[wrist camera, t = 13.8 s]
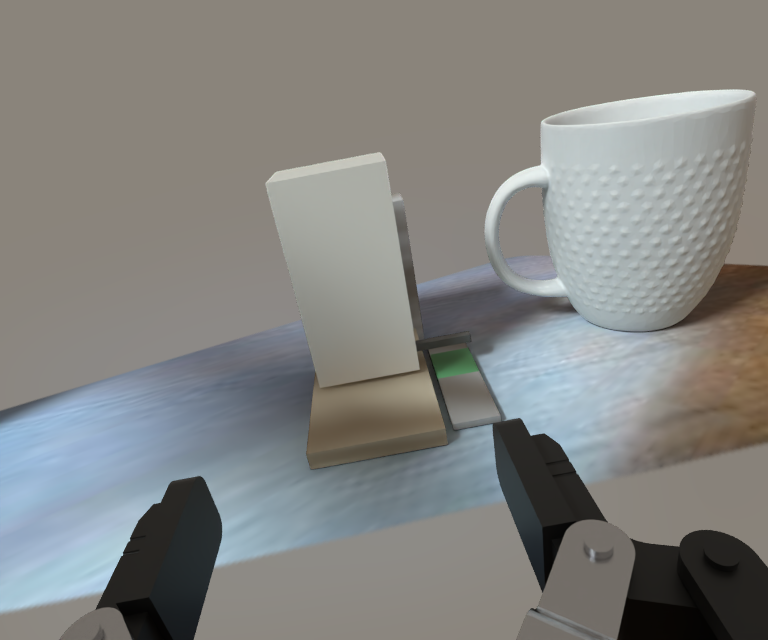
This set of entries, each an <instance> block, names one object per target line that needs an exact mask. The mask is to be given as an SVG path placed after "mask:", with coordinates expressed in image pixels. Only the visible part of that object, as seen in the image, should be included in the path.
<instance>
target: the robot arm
mask: <svg viewBox="0 0 768 640" xmlns="http://www.w3.org/2000/svg"><path fill="white" fill-rule="evenodd" d="M493 437H494V448H495V458H496V468H497V474H498V478H499V482H500V486H501V489H502V491H503V494H504V496H505V499H506V501H507V504H508V507H509V509H510V511H511V514H512V516H513V519H514V522H515V524H516V527H517V529H518V532H519V534H520V537H521V539H522V542H523V544H524V547H525V550H526V552H527V554H528V557H529V560H530V562H531V565H532V567H533V570H534V572H535V575H536V577H537V580H538V582H539V585H540V587H541V590H542V593H543V594H542V597H541V599H540V602H539V605H538V607H537V608H536V609H533V608H531V609H530V610H529V611H528V613H527V615H526V617H525V619H524V621H523V624H522V626H521V629H520V632H519V634H518V637H517V640H768V567H767V566H766V565H765V564H764V563H763V561H762V560H761V559H760V558H759V556H758V555H757V554H756V553H755V552H754V551H753V550H752V549H751V548H750V547H749V546H748V545H746V544H745V543H743V542H742V541H740V540H739V539H737V538H735V537H733V536H730V535H728V534H725V533H722V532H718V531H712V530H699V531H694V532H692V533H689V534H688V535H686V536H685V537H684V538H683V539H682V541H681V543H680V547H676V546H667V545H656V544H649V543H643V542H639V541H635V540H633V539H630V538H629V537H628V536H627V535H626V534H625V533H624V532H623V531H622V530H620V529H619V528H618V527H616V526H614V525H612V524H610V523H608V522H607V521H606V519H605V518H604V516H603V515H602V513H601V511H600V510H599V508H598V507H597V505H596V503H595V502H594V500H593V498H592V497H591V495H590V493H589V492H588V490H587V488H586V487H585V485H584V483H583V482H582V480H581V479H580V477H579V475H578V474H576V470H575V469H574V467H573V465H572V464H571V462H569V459H568V457H567V456H566V454H565V452H564V451H563V449H562V447H561V446H560V444H558V443H557V442H555V441H554V440H553V439H551V438H550V437H549V436H547V435H546V434H538V435H533V436H530V434H529V432H528V430H527V428H526V427H525V425H524V423H523V421H522V420H521V419H520V418H518V419H512V420H507V421H501V422H496V423H493ZM221 539H222V522H221V518H220V515H219V512H218V510H217V508H216V505H215V503H214V501H213V498H212V496H211V494H210V491H209V489H208V487H207V484H206V482H205V480H204V479H203V478H202V477H201V476H198V477H192V478H187V479H181V480H176V481H172V482H171V483H170V484H169V486H168V488H167V490H166V493H165V495H164V497H163V499H162V501H161V503H158V504H153V505H152V506H151V508H150V509H149V510H148V511H147V512H146V513H145V514H144V515H143V516H142V518H141V519H140V520H139V521H138V523H137V525H136V527H135V529H134V531H133V533H132V535H131V537H130V542H128V544H127V546H126V548H125V550H124V552H123V556H121V558H120V560H119V562H118V564H117V566H116V568H115V570H114V572H113V574H112V577H111V579H110V581H109V583H108V585H107V587H106V589H105V591H104V593H103V595H102V597H101V599H100V601H99V603H98V605H97V608H96V610H94V611H92V612H90V613H88V614H86V615H84V616H83V617H81V618H80V619H79V620H77V621H76V622H75V623H74V624H72V626H71V627H69V628H68V629H67V630H66V631H65V633H64V634H63V635H62V636H61V638H60V639H59V640H194V636H195V633H196V629H197V625H198V622H199V618H200V615H201V611H202V607H203V604H204V600H205V597H206V593H207V590H208V586H209V582H210V578H211V575H212V572H213V568H214V565H215V561H216V557H217V554H218V550H219V547H220V543H221Z"/></svg>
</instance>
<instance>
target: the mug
mask: <svg viewBox="0 0 768 640" xmlns="http://www.w3.org/2000/svg"><path fill="white" fill-rule="evenodd" d="M755 107H756V94H755V92H753V91H749V90H712V91H694V92H684V93H675V94H665V95H657V96H650V97H643V98H635V99H629V100H622V101H616V102H610V103H604V104H599V105H592V106H588V107H582V108H578V109H574V110H570V111H566V112H563V113H559V114H556V115H553V116H550V117H548V118H546V119H544V120H542V122H541V165H540V166H535V167H531V168H528V169H525V170H523V171H521V172H518V173H517V174H515V175H513V176H512V177H511V178H509V179H508V180H506V181H505V182H504V183H503V184H502V185H501V187H500V188H499V189H498V190H497V192H496V193H495V195H494V197H493V199H492V201H491V203H490V206H489V209H488V211H487V215H486V220H485V244H486V250H487V254H488V257H489V260H490V263H491V265H492V267H493V269H494V271H495V272H496V274H497V275H498V276H499V278H500V279H501V280H502V281H503V282H504V283H506V284H507V285H508V286H510V287H511V288H513V289H515V290H517V291H519V292H522V293H526V294H530V295H535V296H543V297H567V298H568V299H569V301H570V302H571V304H572V306H573V307H574V308H575V309H576V311H577V312H578V313H579V314H580V315H581V316H582V317H583V318H584V319H586V320H587V321H589V322H591V323H593V324H595V325H598V326H600V327H604V328H607V329H612V330H619V331H633V332H644V331H653V330H658V329H663V328H667V327H670V326H672V325H674V324H676V323H678V322H680V321H681V320H683V319H684V318H685V317H686V316H687V315H688V314H689V313H690V312H691V311H692V310H693V309H694V308H695V307H696V306H697V305H698V304H699V302H700V301H701V300H702V299H703V297H704V296H706V295H707V293H708V291H709V289H710V287H711V286H712V285H713V284H714V282H715V279H716V278H717V276H718V274H719V272H720V270H721V268H722V266H723V265H724V262H725V258H726V256H727V254H728V253H729V251H730V245H731V244H732V242H733V238H734V234H735V232H736V230H737V223H738V220H739V215H740V213H741V211H740V209H741V207H742V205H743V195H744V191H745V184H746V181H747V170H748V167H749V156H750V153H751V143H752V130H753V122H754V115H755ZM530 187H541V188H542V197H543V207H544V211H543V214H544V217H545V226H546V236H547V239H548V246H549V249H550V255H551V258H552V261H553V266H554V267H555V271H556V273H557V278H556V279H552V280H530V279H527V278H524V277H521V276H520V275H518V274H516V273H515V272H514V271H513V270H512V269H511V268H510V267H509V266H508V264H507V263H506V261H505V259H504V257H503V254H502V252H501V248H500V243H499V225H500V219H501V216H502V212H503V210H504V208H505V205H506V204H507V202H508V201H509V200H510V199H511V198H512V196H514V195H515V194H516V193H517V192H519V191H521V190H523V189H525V188H530Z"/></svg>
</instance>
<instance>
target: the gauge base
mask: <svg viewBox="0 0 768 640" xmlns="http://www.w3.org/2000/svg"><path fill="white" fill-rule="evenodd" d="M391 196H392V202H393V208H394V214H395V220H396V226H397V233H398V239H399V245H400V251H401V257H402V263H403V269H404V276H405V282H406V288H407V294H408V300H409V306H410V312H411V318H412V325H413V331H414V337H415V341H417V340H423V339H424V332H423V326H422V319H421V313H420V306H419V300H418V293H417V287H416V280H415V274H414V267H413V261H412V254H411V248H410V241H409V235H408V228H407V222H406V215H405V209H404V202H403V199H402V197H401V195H400V193H395V194H391ZM428 351H429V355H430V358H431V361H432V364H433V367H434V370H435V373H436V376H437V380H438V383H439V386H440V389H441V392H442V395H443V398H444V401H445V405H446V408H447V411H448V414H449V417H450V420H451V423H452V426H453V430H459V429H464V428H469V427H475V426H480V425H486V424H491V423H496V422H501V415H500V413H499V411H498V409H497V407H496V405H495V403H494V401H493V399H492V397H491V394H490V392H489V390H488V388H487V386H486V384H485V382H484V380H483V378H482V376H481V374H480V372H479V369H478V367H477V365H476V363H475V361H474V359H473V357H472V355H471V353H470V351H469V349H468V347H467V345H466V343H461V344H456V345H450V346H445V347H439V348H434V349H429V350H428ZM417 355H418V361H419V367H420V370H415V371H410V372H404V373H399V374H394V375H388V376H383V377H377V378H372V379H367V380H361V381H356V382H350V383H345V384H340V385H334V386H329V387H323V388H320V386H319V383H318V379H317V375H316V371H315V379H314V388H313V397H312V406H311V415H310V424H309V433H308V442H307V451H306V455H307V459H308V462H309V465H310V468H311V470H312V469H317V468H323V467H328V466H334V465H339V464H345V463H350V462H355V461H361V460H366V459H372V458H377V457H383V456H388V455H394V454H399V453H404V452H410V451H415V450H421V449H426V448H432V447H437V446H443V445H448V442H447V435H446V428H445V425H444V422H443V418H442V415H441V412H440V408H439V405H438V401H437V398H436V395H435V391H434V388H433V385H432V381H431V378H430V375H429V371H428V368H427V364H426V361H425V358H424V354H423V351H418V352H417Z"/></svg>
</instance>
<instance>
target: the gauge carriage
mask: <svg viewBox="0 0 768 640" xmlns="http://www.w3.org/2000/svg"><path fill="white" fill-rule="evenodd" d="M265 185H266V189H267V193H268V196H269V200H270V204H271V208H272V211H273V215H274V219H275V222H276V226H277V230H278V233H279V237H280V241H281V245H282V248H283V252H284V256H285V259H286V263H287V267H288V271H289V274H290V278H291V282H292V285H293V289H294V293H295V297H296V301H297V304H298V308H299V312H300V315H301V319H302V323H303V327H304V330H305V334H306V338H307V342H308V345H309V349H310V353H311V356H312V360H313V364H314V368H315V371H316V375H317V379H318V383H319V386H320V388H323V387H329V386H334V385H340V384H345V383H350V382H356V381H361V380H367V379H372V378H377V377H383V376H388V375H394V374H399V373H404V372H410V371H415V370H420V367H419V361H418V355H417V352H418V351H423V350H429V349H434V348H439V347H445V346H450V345H456V344H461V343H466V342H471V337H470V333H469V331H466V332H460V333H455V334H450V335H444V336H439V337H433V338H428V339H423V340H417V341H415V337H414V331H413V325H412V318H411V312H410V306H409V300H408V294H407V288H406V282H405V276H404V269H403V263H402V257H401V251H400V245H399V239H398V233H397V226H396V220H395V214H394V208H393V202H392V196H391V190H390V184H389V177H388V171H387V165H386V161H385V159H384V157H383V155H382V154H381V152H378V153H373V154H368V155H362V156H357V157H352V158H346V159H342V160H336V161H330V162H326V163H320V164H315V165H310V166H304V167H299V168H293V169H288V170H283V171H278V172H275V173H274V174H273V175H272V176H271V178H270V179H269V180H268V181H267V182H266V183H265Z"/></svg>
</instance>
